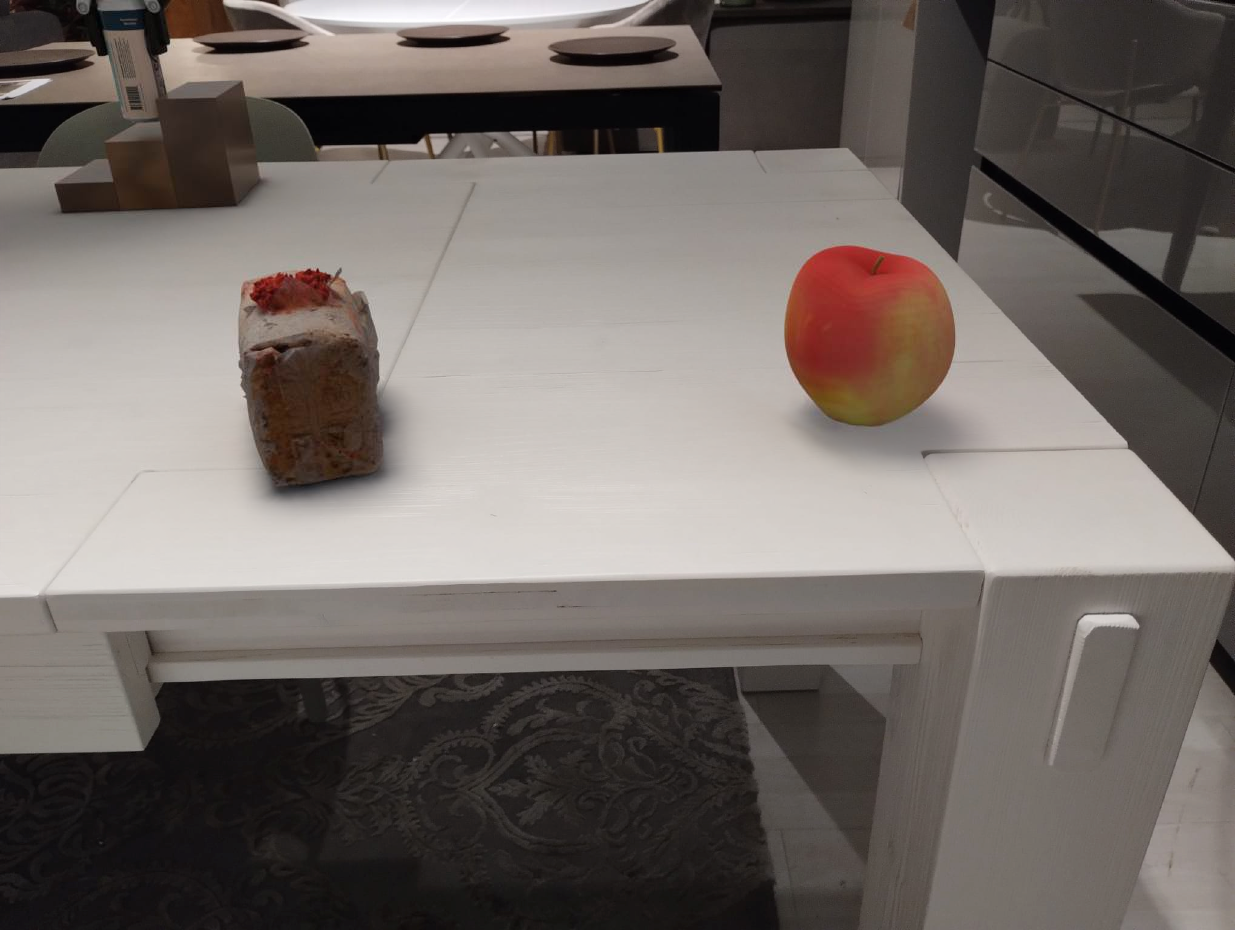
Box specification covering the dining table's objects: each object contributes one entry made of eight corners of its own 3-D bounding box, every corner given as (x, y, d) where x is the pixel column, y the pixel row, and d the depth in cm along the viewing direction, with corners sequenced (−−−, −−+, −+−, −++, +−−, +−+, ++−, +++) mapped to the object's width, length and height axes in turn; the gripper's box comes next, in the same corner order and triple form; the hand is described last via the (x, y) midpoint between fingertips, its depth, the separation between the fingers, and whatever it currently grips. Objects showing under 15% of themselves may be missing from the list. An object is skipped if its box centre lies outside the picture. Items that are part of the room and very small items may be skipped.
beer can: (180, 119, 109) (153, -4, 103) (136, 125, 106) (106, -1, 100) (160, 114, 112) (133, -6, 106) (116, 120, 109) (87, -3, 103)
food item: (249, 397, 65) (218, 246, 60) (375, 378, 67) (354, 231, 62) (259, 498, 54) (221, 322, 49) (410, 471, 56) (388, 300, 51)
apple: (770, 445, 58) (781, 276, 53) (784, 379, 66) (795, 227, 61) (945, 461, 56) (973, 287, 51) (937, 390, 64) (961, 235, 59)
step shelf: (61, 212, 107) (30, 103, 101) (101, 185, 117) (75, 85, 112) (236, 205, 108) (215, 97, 103) (260, 179, 118) (242, 80, 113)
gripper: (189, -150, 101) (225, 47, 109) (11, -147, 99) (63, 52, 108) (166, -154, 94) (207, 56, 103) (-24, -152, 93) (34, 61, 102)
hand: (133, 52), depth 105 cm, fingers closed on beer can, 4 cm apart
